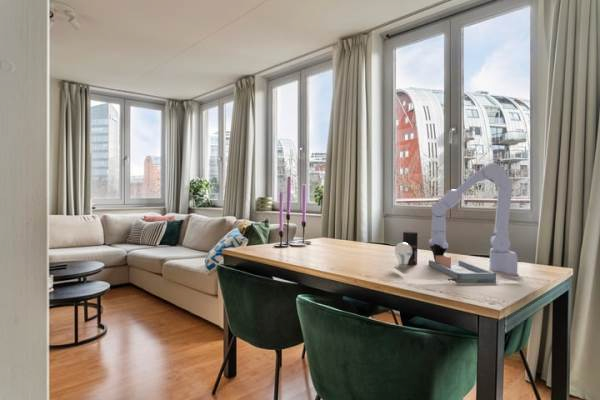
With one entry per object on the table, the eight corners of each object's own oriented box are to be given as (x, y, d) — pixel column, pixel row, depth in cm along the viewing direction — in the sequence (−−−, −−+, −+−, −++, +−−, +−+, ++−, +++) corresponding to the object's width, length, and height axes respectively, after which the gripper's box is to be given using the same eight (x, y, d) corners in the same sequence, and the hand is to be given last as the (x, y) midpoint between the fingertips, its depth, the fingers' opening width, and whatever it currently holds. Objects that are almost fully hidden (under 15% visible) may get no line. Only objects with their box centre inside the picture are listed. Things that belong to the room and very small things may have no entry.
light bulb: (393, 272, 151) (393, 242, 151) (395, 269, 158) (395, 240, 157) (411, 274, 149) (411, 243, 148) (412, 270, 155) (413, 241, 155)
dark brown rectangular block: (414, 269, 158) (415, 233, 158) (400, 267, 161) (401, 232, 161) (418, 266, 163) (419, 232, 163) (405, 265, 166) (405, 231, 166)
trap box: (460, 268, 161) (460, 260, 161) (496, 283, 135) (496, 273, 135) (428, 268, 160) (428, 260, 160) (457, 283, 134) (458, 273, 134)
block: (445, 266, 157) (446, 255, 157) (450, 268, 153) (451, 257, 153) (435, 266, 157) (435, 255, 157) (440, 268, 153) (440, 257, 153)
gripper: (422, 229, 167) (422, 259, 167) (436, 232, 152) (435, 266, 152) (438, 229, 167) (437, 259, 167) (453, 232, 152) (453, 266, 153)
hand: (438, 262), depth 160 cm, fingers closed
